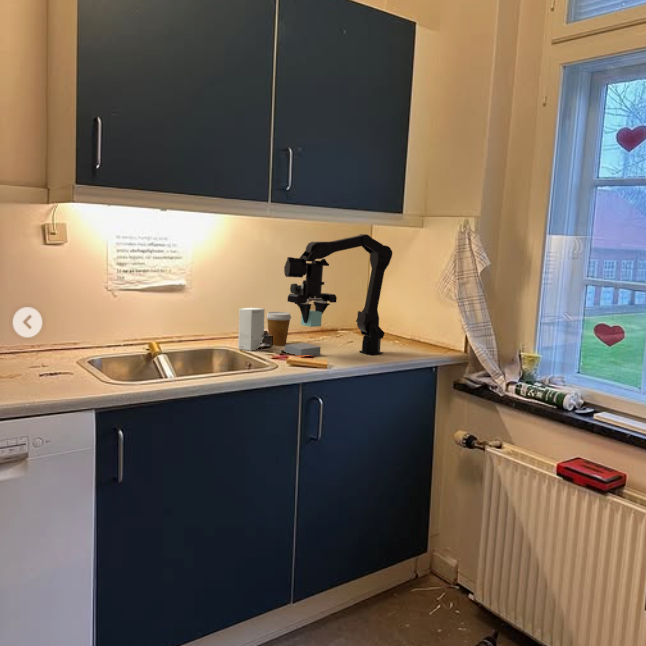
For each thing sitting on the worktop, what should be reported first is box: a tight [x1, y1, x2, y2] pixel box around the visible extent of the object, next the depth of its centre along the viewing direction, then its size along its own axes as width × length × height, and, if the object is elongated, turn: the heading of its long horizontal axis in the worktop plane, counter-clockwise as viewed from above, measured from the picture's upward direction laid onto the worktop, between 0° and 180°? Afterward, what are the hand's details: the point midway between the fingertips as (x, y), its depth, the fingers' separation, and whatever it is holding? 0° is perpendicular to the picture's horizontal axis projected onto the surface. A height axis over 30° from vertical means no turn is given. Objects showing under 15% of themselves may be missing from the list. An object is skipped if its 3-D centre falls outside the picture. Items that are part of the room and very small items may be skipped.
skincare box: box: [237, 307, 266, 352], centre depth 227 cm, size 8×6×15 cm
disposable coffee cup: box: [266, 311, 292, 347], centre depth 238 cm, size 10×10×12 cm
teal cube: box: [300, 309, 323, 328], centre depth 220 cm, size 5×5×5 cm
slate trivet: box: [283, 342, 321, 356], centre depth 223 cm, size 9×9×3 cm
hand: (310, 322), depth 220 cm, fingers closed on teal cube, 5 cm apart
